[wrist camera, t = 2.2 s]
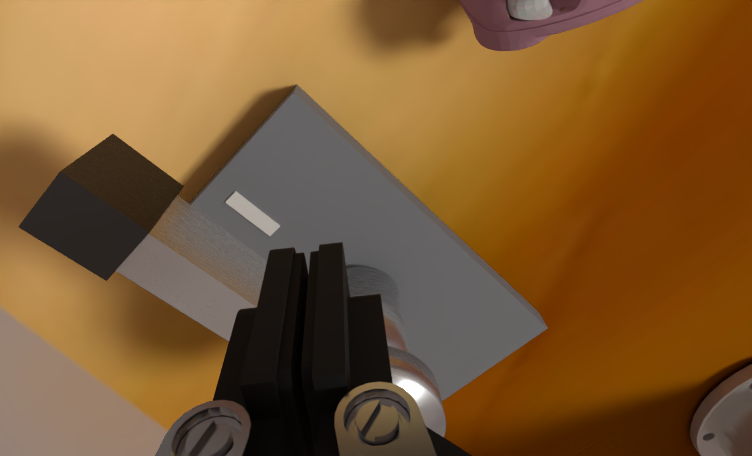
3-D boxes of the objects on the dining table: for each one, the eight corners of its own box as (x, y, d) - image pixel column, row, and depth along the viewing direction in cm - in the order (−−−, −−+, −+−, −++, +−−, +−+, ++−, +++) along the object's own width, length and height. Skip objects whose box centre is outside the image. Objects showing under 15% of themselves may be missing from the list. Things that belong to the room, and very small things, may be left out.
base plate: (538, 312, 30) (548, 329, 28) (400, 409, 33) (403, 429, 32) (296, 84, 22) (293, 92, 21) (152, 243, 26) (141, 259, 24)
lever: (440, 296, 26) (478, 427, 19) (360, 359, 28) (366, 500, 21) (177, 73, 20) (74, 138, 12) (96, 174, 22) (-34, 283, 14)
